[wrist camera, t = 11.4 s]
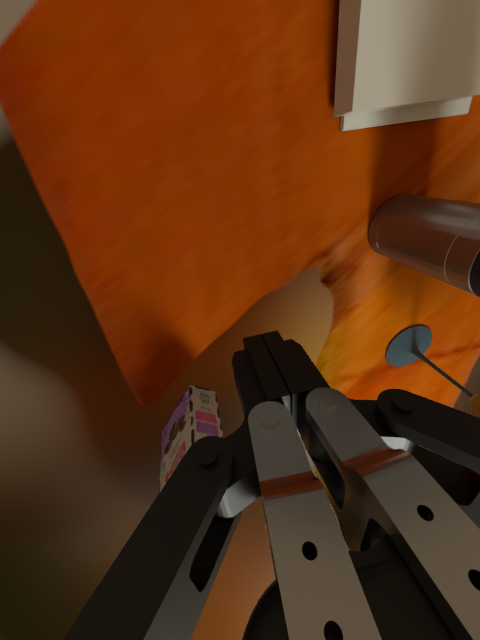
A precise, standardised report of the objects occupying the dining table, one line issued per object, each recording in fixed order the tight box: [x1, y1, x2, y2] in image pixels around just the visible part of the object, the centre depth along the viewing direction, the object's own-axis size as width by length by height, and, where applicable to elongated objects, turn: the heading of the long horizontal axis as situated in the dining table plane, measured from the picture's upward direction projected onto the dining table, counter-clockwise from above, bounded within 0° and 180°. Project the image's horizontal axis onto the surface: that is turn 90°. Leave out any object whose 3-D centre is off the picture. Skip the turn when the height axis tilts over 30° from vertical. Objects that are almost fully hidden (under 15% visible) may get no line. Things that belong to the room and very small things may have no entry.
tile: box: [334, 0, 480, 117], centre depth 28 cm, size 4×12×16 cm
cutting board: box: [340, 97, 472, 131], centre depth 30 cm, size 18×15×1 cm
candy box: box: [159, 385, 223, 493], centre depth 46 cm, size 14×6×16 cm, turn 149°
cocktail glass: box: [386, 325, 480, 418], centre depth 47 cm, size 18×18×25 cm
